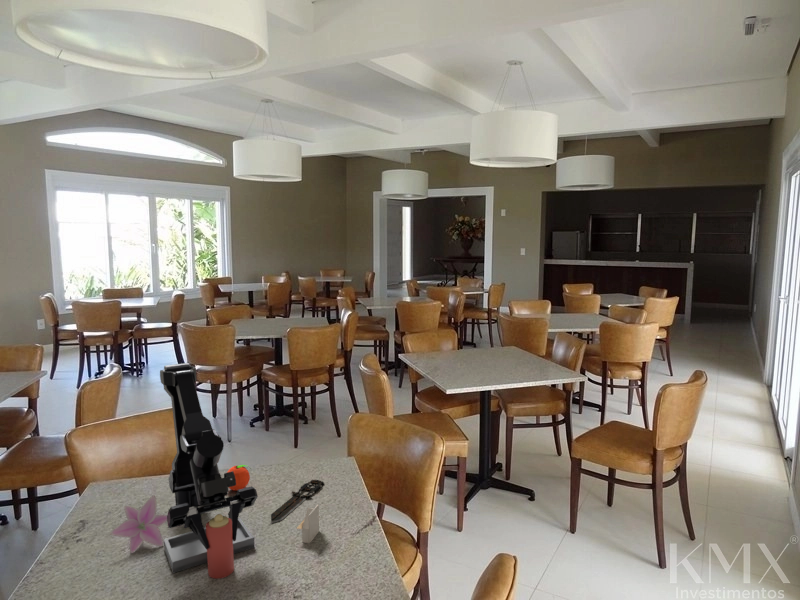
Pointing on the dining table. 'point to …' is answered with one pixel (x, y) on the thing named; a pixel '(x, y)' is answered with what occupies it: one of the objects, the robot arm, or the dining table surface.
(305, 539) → the architectural model
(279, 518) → the knife
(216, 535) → the pepper mill
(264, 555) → the dining table surface
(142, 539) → the lily
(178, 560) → the tray
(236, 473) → the clementine
